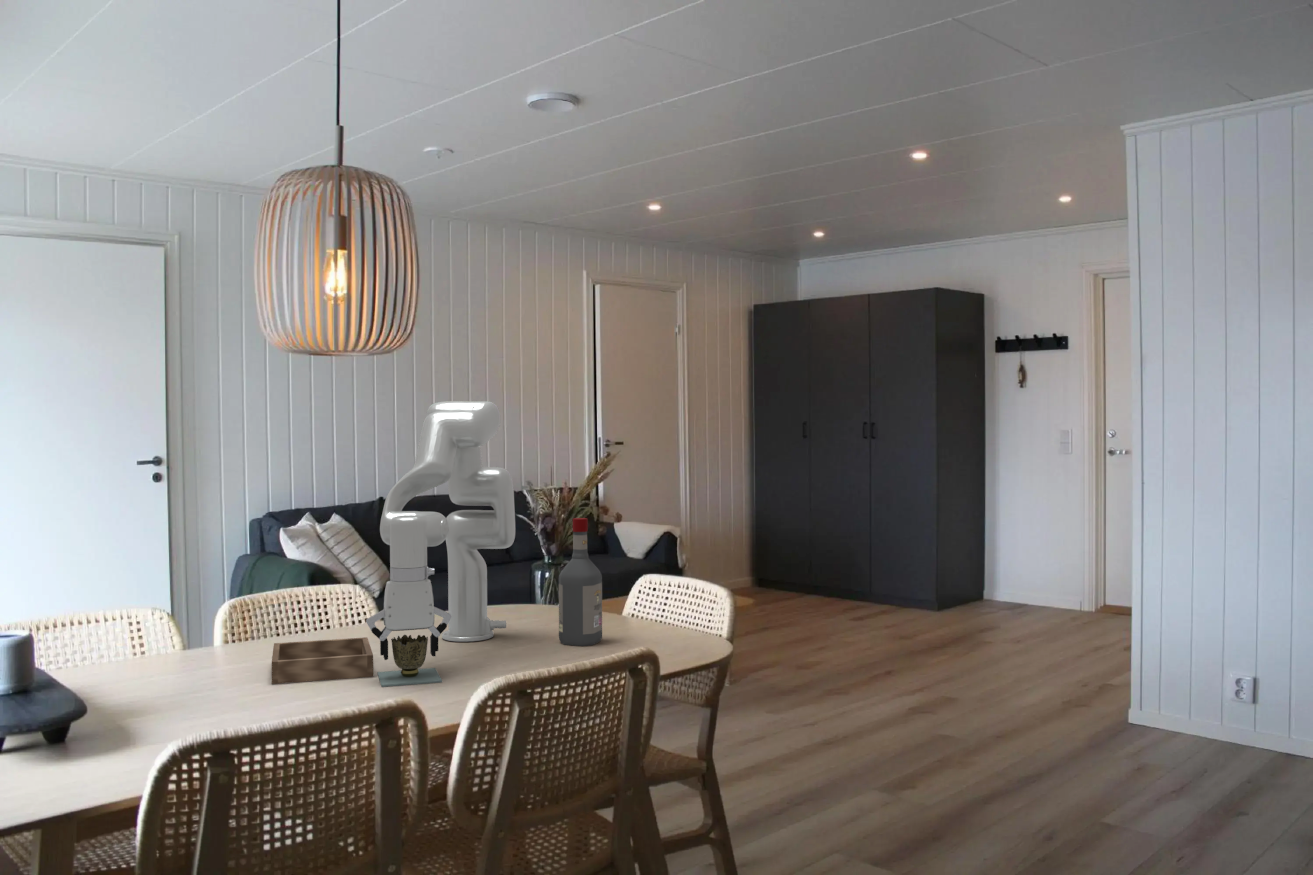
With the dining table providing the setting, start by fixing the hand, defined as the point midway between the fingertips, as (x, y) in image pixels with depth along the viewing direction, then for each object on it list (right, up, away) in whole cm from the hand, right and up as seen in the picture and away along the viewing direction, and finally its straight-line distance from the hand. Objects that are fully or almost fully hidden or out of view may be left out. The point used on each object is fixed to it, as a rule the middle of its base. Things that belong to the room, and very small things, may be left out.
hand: (409, 656), depth 220 cm
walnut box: (-21, -4, +8) cm, 22 cm away
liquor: (+33, -4, +36) cm, 49 cm away
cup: (0, -4, 0) cm, 4 cm away
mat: (0, -4, 0) cm, 4 cm away
